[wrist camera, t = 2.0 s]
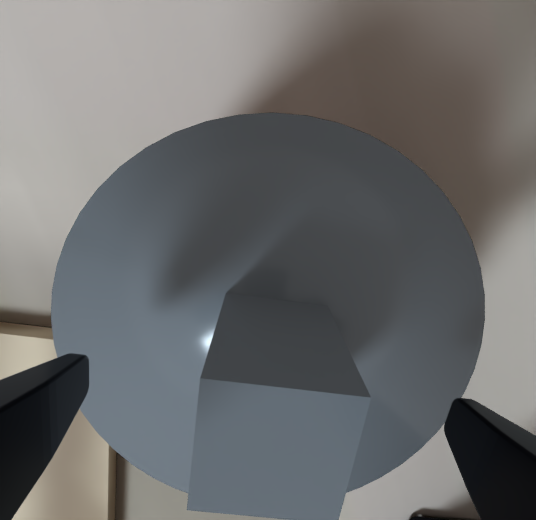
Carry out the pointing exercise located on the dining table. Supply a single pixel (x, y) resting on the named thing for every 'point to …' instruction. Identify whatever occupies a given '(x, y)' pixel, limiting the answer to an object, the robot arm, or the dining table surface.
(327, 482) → the lid
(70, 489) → the board
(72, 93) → the dining table surface
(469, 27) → the dining table surface
